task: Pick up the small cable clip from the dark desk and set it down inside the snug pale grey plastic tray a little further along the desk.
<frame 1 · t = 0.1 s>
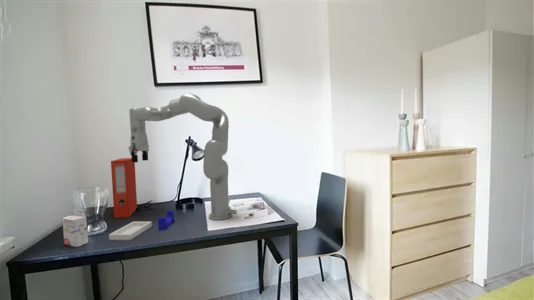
hand: (140, 161, 148), 31 cm above the table, tool pointing down, fingers open, 9 cm apart
file binder: (126, 213, 157), on the table
ink cartridge box: (76, 244, 114), on the table
cable clip: (165, 226, 133), on the table
tray: (132, 232, 125), on the table
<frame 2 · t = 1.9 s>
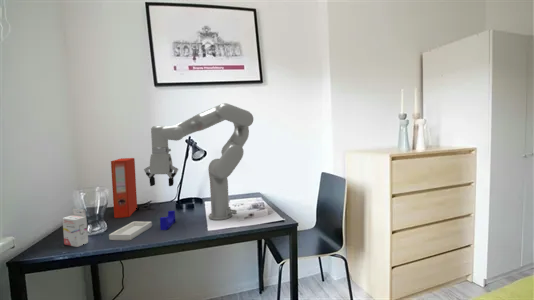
hand: (161, 185, 131), 20 cm above the table, tool pointing down, fingers open, 9 cm apart
nothing on the table moved.
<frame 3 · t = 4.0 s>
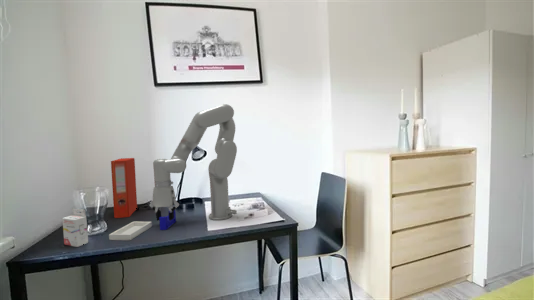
hand: (165, 219, 133), 3 cm above the table, tool pointing down, fingers open, 5 cm apart
cable clip: (166, 225, 133), on the table, touching gripper
everything else where it was.
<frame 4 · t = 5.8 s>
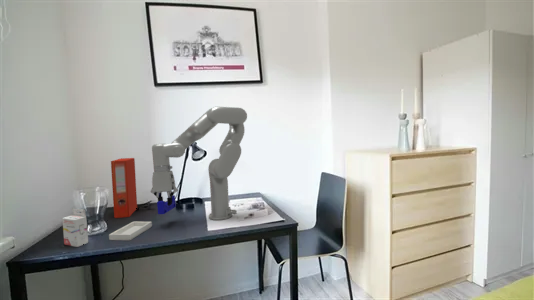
hand: (165, 204, 133), 11 cm above the table, tool pointing down, fingers closed on cable clip, 4 cm apart
cable clip: (166, 210, 133), point 7 cm above the table, touching gripper
everything else where it was.
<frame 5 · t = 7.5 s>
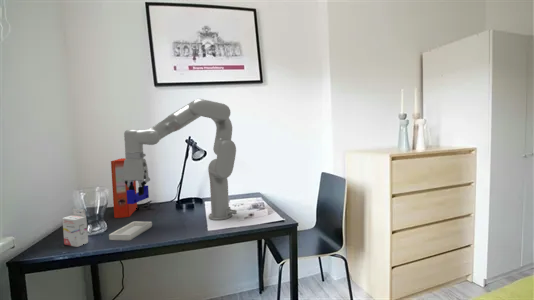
hand: (136, 194, 125), 18 cm above the table, tool pointing down, fingers closed on cable clip, 4 cm apart
cable clip: (137, 200, 126), point 15 cm above the table, touching gripper
everything else where it was.
when the fingers open (5 cm above the table, at t = 10.8 s): cable clip drops 2 cm, resting on tray.
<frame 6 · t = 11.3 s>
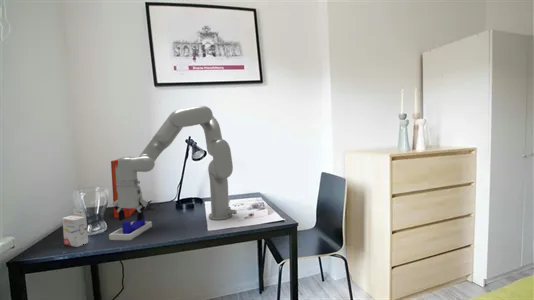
hand: (131, 219, 124), 6 cm above the table, tool pointing down, fingers open, 9 cm apart
cable clip: (133, 231, 125), resting on tray
everything else where it was.
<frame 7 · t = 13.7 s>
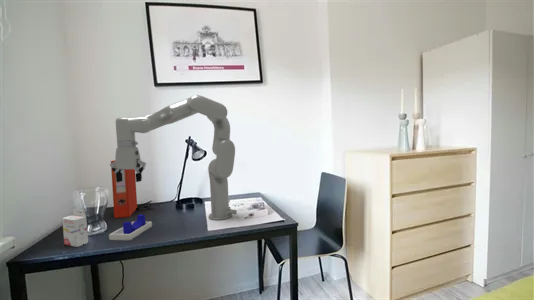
hand: (129, 181, 123), 24 cm above the table, tool pointing down, fingers open, 9 cm apart
nothing on the table moved.
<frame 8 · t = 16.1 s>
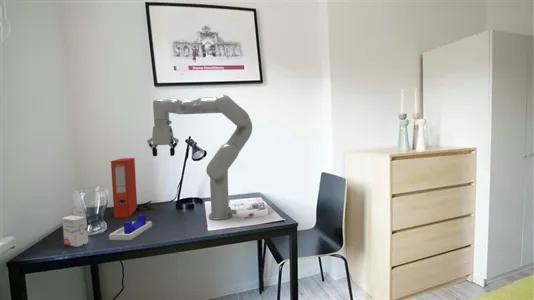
hand: (163, 155, 141), 34 cm above the table, tool pointing down, fingers open, 9 cm apart
nothing on the table moved.
at the end: cable clip 1.0 cm off-centre on the tray, point 0.4 cm above the tray's base; cable clip tilted 0°; the gripper is holding nothing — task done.
